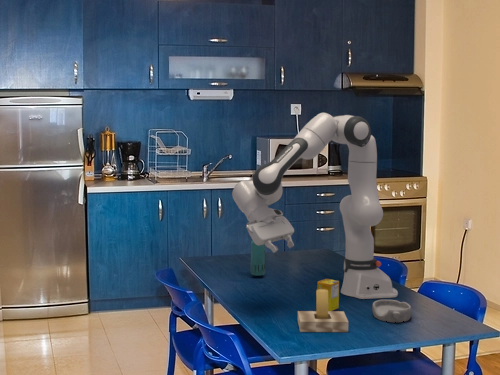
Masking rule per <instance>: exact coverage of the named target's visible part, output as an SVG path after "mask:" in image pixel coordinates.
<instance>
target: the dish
mask: <svg viewBox="0 0 500 375" xmlns="http://www.w3.org/2000/svg"><path fill="white" fill-rule="evenodd" d="M371 308H372V314H373V317H374V318H376V319H377V320H379V321H382V322H386V321H387V323H395V322H396V323H404V322H407V321H410V319H411V316H412V306H411V305H410V304H409V303H408V302H405V301H399V300H397V299H395V300H394V299H378V300H375V301H374V302H372V307H371ZM403 321H404V322H403Z"/></svg>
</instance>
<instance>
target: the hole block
mask: <svg viewBox="0 0 500 375" xmlns="http://www.w3.org/2000/svg"><path fill="white" fill-rule="evenodd" d="M297 324H298V327H299V329H298V330H299V332H300V333H349V319H348V318H347V316H346V314H345V311H344V310H343V311H339V310H337V311H328V319H317V315H316V310H314V311H313V310H300V311H299V310H297Z"/></svg>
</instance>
